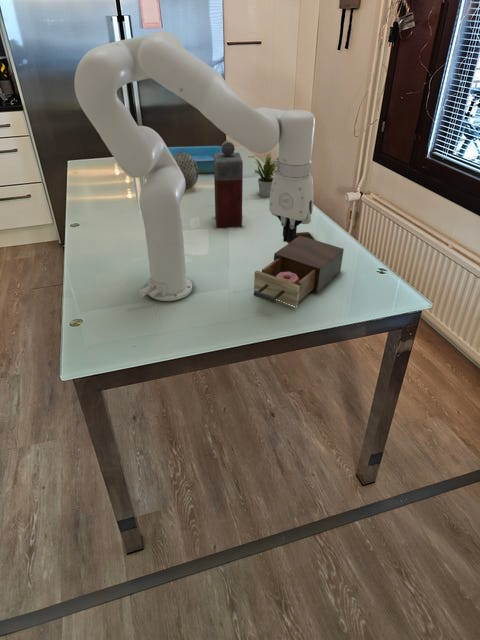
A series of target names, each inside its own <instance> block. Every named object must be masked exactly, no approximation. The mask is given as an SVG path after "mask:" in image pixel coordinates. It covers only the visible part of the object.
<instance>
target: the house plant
mask: <svg viewBox="0 0 480 640" xmlns="http://www.w3.org/2000/svg"><path fill="white" fill-rule="evenodd" d="M264 157H265V163H264V164H263V166H262V163H261V162H260V161H259V159H257V158H256V157H255V156H253V159H254V160H255V162H254V163H256V165H257V169H254V170H253V171H254V174H258V176H259V178H258V179H257V183H258V190H259V196H260V197H262V198H263V197H264V198H270V192H271V186H272V181H273V177H274V173H275V172H277V171H278V170H276V168H278V167H277V166H276V165H274V161H275V160H278V159H279V156H278V157H277V158H275V160H273V161H272V157H271V153H270V152H268V154H267V155H266V154H264Z"/></svg>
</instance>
